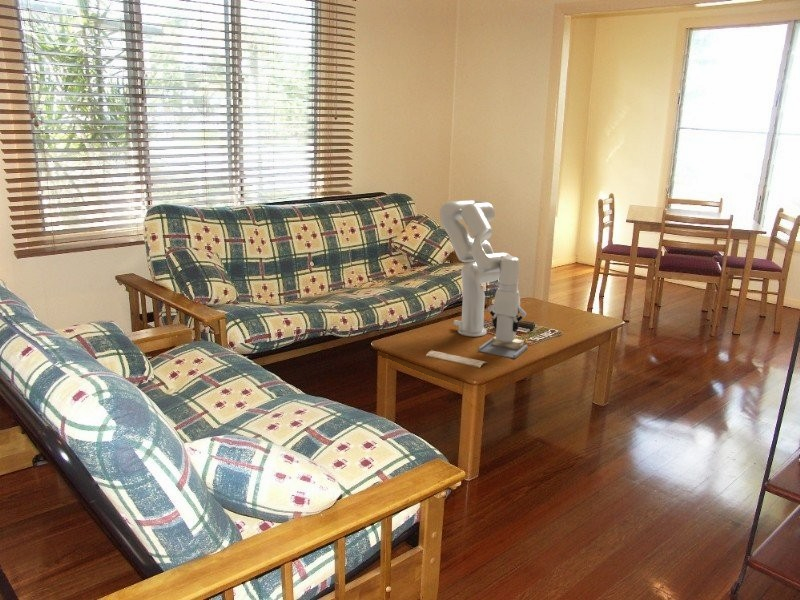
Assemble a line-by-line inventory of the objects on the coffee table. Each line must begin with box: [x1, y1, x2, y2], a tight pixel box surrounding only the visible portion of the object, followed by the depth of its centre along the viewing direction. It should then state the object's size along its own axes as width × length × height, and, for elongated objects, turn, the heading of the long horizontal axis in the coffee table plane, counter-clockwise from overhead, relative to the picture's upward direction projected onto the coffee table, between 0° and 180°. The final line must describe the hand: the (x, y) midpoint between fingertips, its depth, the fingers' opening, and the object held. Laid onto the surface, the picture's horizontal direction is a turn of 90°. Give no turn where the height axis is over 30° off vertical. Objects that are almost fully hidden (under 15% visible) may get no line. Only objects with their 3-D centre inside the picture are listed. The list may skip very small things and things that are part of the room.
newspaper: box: [425, 350, 488, 368], centre depth 280 cm, size 24×7×2 cm, turn 60°
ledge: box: [492, 335, 524, 350], centre depth 294 cm, size 12×4×3 cm, turn 61°
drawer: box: [477, 337, 529, 359], centre depth 290 cm, size 16×14×2 cm
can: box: [495, 314, 516, 343], centre depth 290 cm, size 8×8×12 cm
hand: (505, 328), depth 290 cm, fingers closed on can, 7 cm apart
